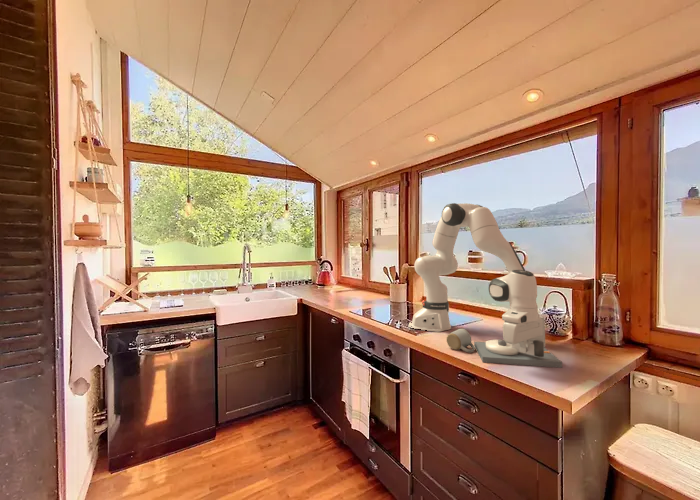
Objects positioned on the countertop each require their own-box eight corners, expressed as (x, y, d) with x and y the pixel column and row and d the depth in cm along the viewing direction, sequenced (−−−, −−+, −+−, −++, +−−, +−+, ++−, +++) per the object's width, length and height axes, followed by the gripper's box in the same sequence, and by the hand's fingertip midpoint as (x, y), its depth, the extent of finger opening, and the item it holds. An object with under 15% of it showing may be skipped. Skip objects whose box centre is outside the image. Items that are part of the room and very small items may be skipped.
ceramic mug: (445, 347, 124) (445, 330, 124) (456, 343, 129) (456, 326, 129) (467, 355, 116) (467, 336, 116) (478, 350, 121) (478, 332, 120)
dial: (480, 349, 115) (480, 334, 115) (492, 342, 123) (492, 328, 123) (538, 363, 100) (538, 346, 100) (548, 354, 108) (548, 338, 108)
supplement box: (545, 347, 122) (545, 317, 122) (526, 346, 123) (526, 317, 123) (538, 341, 129) (537, 313, 129) (520, 341, 131) (519, 313, 131)
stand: (482, 362, 108) (482, 356, 108) (474, 346, 126) (474, 340, 126) (562, 367, 102) (562, 361, 102) (541, 349, 119) (541, 344, 119)
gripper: (530, 309, 114) (531, 344, 114) (499, 316, 104) (500, 354, 104) (547, 312, 109) (548, 348, 109) (516, 319, 98) (517, 360, 98)
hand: (524, 351), depth 106 cm, fingers closed
